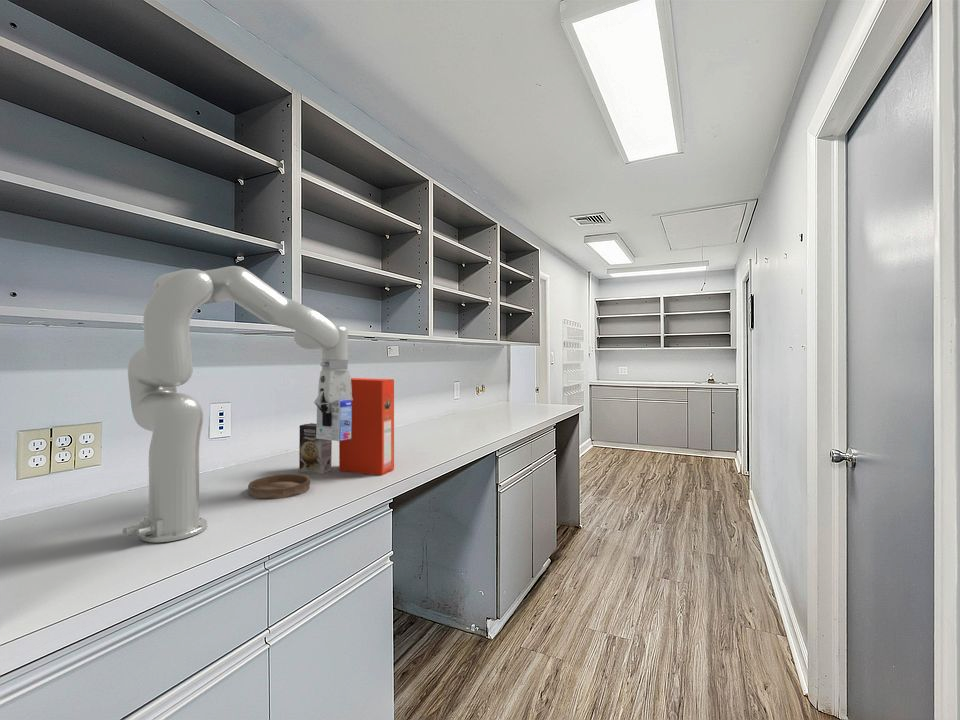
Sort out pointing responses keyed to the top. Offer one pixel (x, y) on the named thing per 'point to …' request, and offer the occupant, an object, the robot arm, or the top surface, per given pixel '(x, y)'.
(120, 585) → the top surface
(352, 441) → the file binder
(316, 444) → the coffee box
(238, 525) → the top surface
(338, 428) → the ink cartridge box
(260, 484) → the round tray
